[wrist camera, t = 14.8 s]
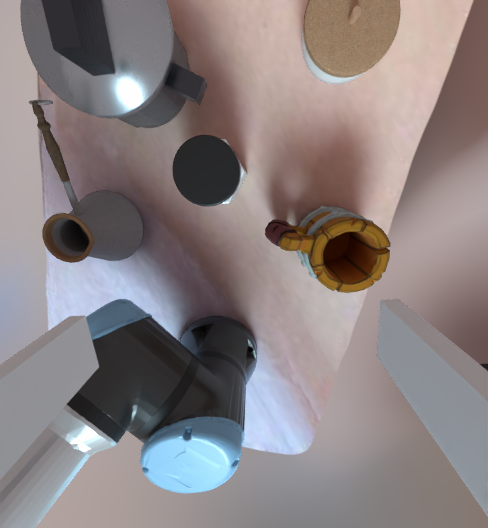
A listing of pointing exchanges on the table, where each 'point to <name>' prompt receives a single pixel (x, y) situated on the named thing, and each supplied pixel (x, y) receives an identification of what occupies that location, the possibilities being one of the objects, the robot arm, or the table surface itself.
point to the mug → (335, 247)
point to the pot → (171, 93)
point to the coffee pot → (88, 216)
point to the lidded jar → (347, 36)
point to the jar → (208, 171)
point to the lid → (100, 51)
